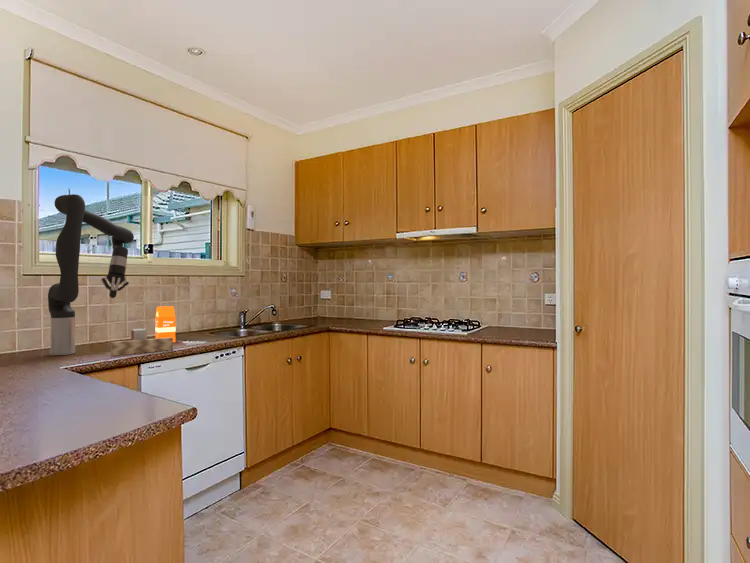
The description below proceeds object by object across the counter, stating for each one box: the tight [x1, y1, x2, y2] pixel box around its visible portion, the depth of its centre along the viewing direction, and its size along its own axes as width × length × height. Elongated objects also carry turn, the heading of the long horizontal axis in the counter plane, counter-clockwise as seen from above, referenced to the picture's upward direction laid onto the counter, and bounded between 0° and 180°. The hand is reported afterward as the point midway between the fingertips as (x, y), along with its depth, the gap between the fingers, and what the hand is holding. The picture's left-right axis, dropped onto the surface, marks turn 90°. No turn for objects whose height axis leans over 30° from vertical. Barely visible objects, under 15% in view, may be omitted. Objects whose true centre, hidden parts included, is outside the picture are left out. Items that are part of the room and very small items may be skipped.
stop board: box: [110, 337, 174, 357], centre depth 204 cm, size 26×3×6 cm, turn 129°
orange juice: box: [154, 305, 177, 343], centre depth 238 cm, size 8×9×20 cm
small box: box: [130, 328, 148, 341], centre depth 207 cm, size 8×6×10 cm
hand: (112, 297), depth 220 cm, fingers closed
